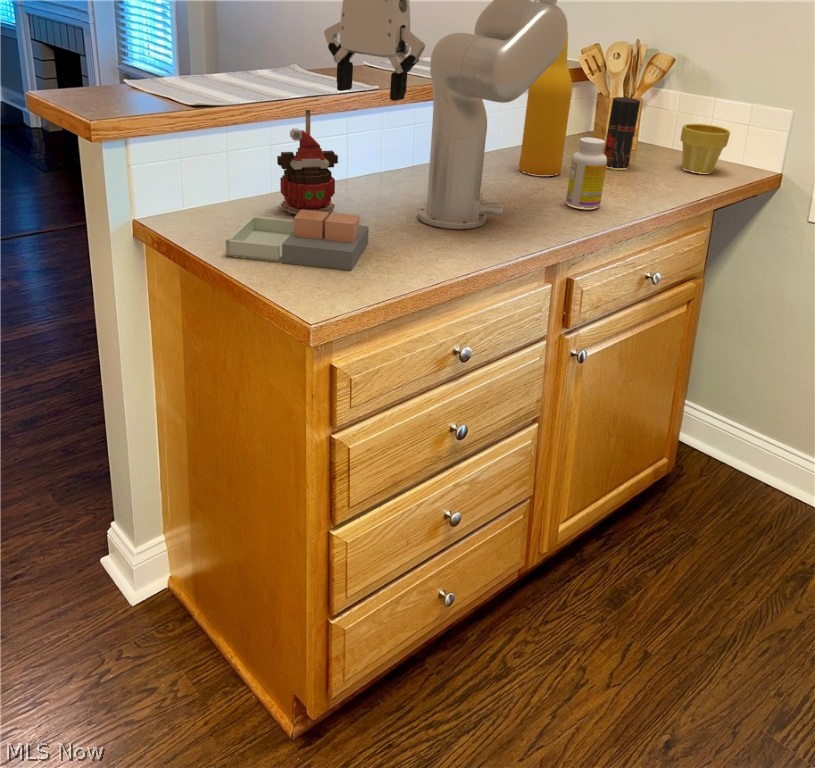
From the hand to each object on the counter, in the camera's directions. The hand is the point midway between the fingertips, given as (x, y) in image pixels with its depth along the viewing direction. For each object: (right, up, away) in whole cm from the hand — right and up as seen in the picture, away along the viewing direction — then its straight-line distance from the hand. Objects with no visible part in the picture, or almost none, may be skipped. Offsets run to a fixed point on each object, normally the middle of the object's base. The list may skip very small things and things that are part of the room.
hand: (370, 94), depth 134 cm
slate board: (-7, -23, +6) cm, 25 cm away
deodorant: (+53, +5, +66) cm, 85 cm away
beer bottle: (+35, +2, +59) cm, 68 cm away
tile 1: (-10, -20, +5) cm, 23 cm away
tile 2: (-5, -21, +5) cm, 22 cm away
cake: (-12, -13, +25) cm, 31 cm away
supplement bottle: (+40, -10, +38) cm, 56 cm away
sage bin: (-17, -22, +7) cm, 29 cm away
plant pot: (+73, +5, +68) cm, 99 cm away
